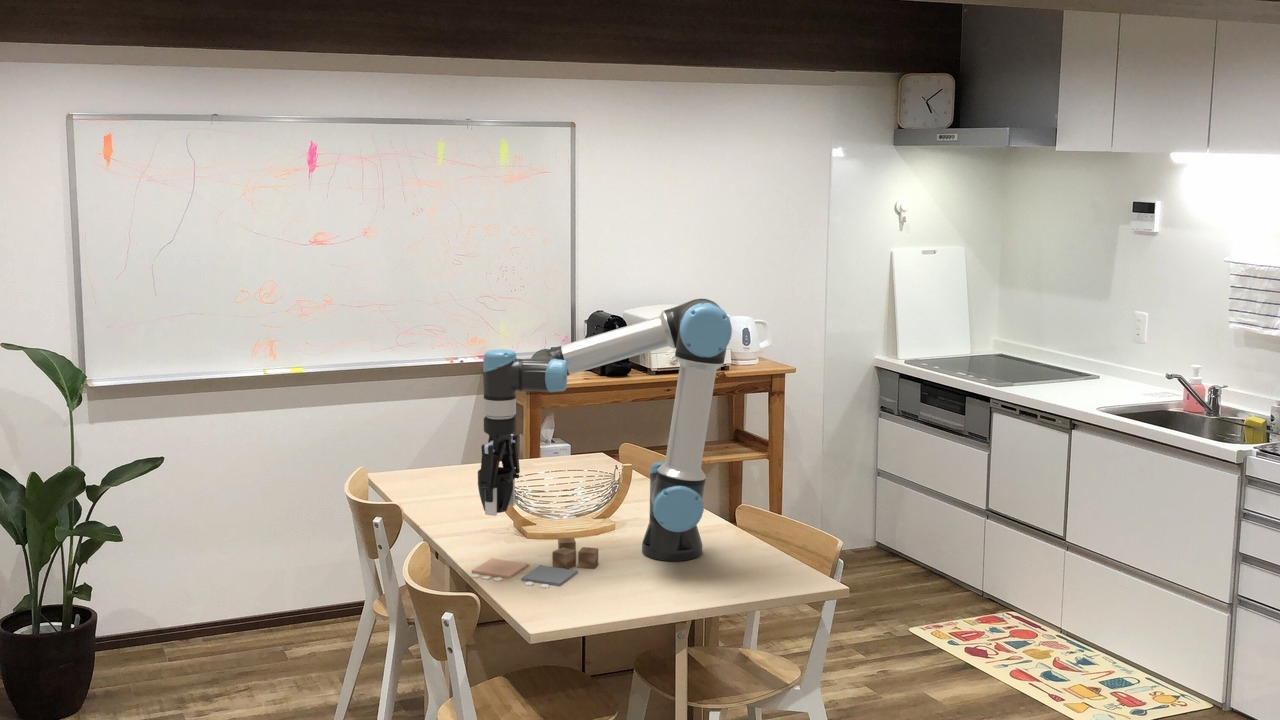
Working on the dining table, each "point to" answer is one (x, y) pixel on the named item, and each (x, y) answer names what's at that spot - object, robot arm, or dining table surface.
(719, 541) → the dining table surface
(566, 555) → the block
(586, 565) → the block
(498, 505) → the mug
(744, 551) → the dining table surface
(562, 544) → the block
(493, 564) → the pad three
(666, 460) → the robot arm
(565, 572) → the pad two
